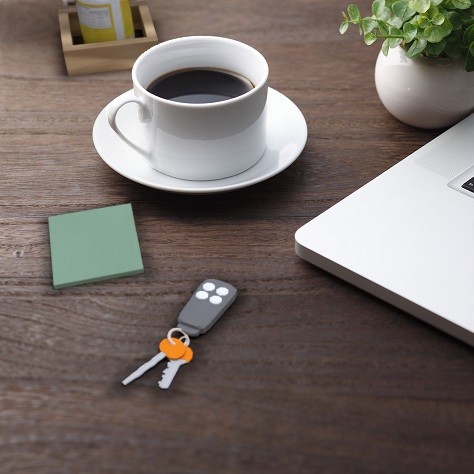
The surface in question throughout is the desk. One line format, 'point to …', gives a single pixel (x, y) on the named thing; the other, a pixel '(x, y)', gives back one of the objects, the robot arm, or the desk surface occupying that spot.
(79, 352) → the desk surface
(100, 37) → the pill bottle
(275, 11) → the desk surface
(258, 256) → the desk surface
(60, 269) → the green mat
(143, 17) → the brown shallow square frame
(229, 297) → the key chain
